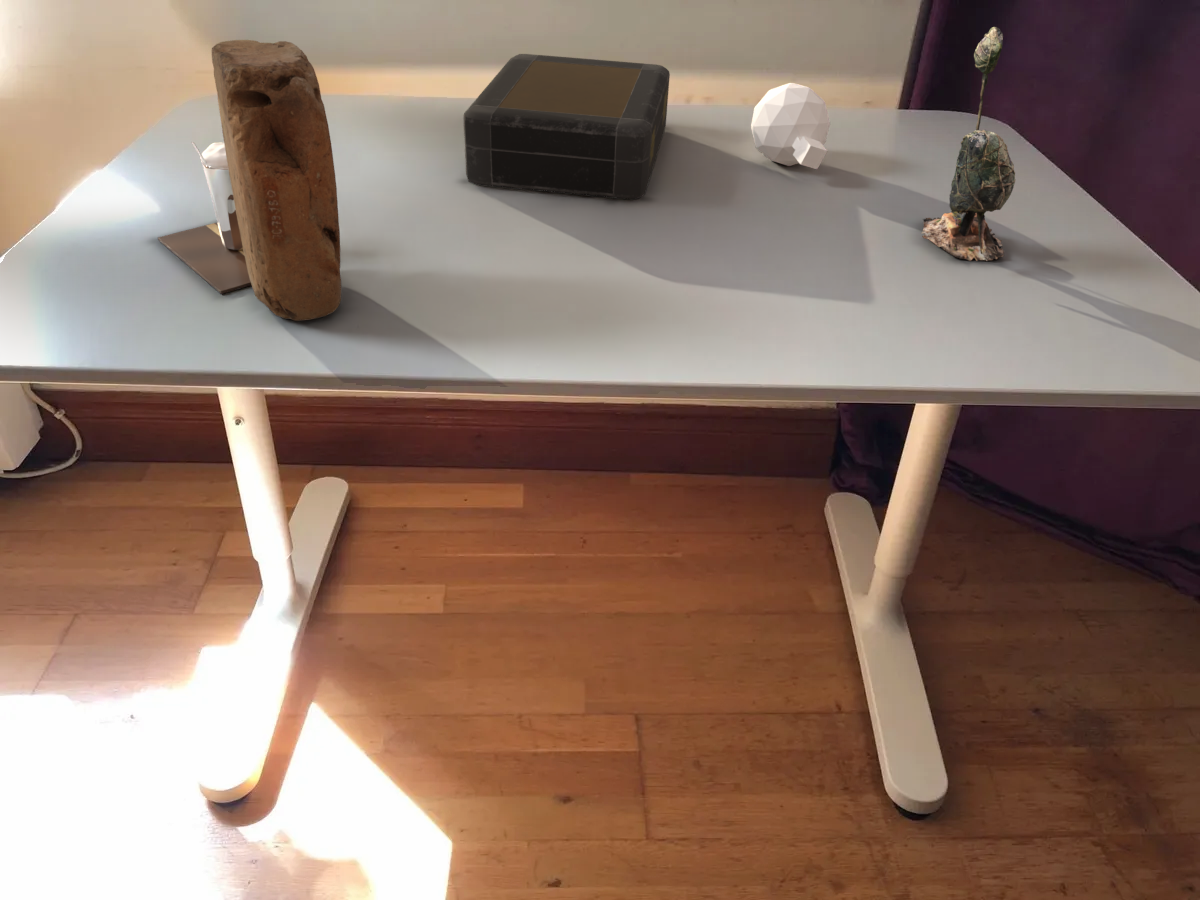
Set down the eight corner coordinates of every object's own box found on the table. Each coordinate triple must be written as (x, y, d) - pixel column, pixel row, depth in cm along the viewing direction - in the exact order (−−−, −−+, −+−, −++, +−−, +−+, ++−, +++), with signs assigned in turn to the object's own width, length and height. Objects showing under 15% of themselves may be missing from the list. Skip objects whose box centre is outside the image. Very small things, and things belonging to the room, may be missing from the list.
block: (245, 272, 84) (200, 33, 71) (331, 260, 87) (302, 28, 74) (264, 334, 76) (218, 80, 64) (358, 319, 79) (331, 72, 67)
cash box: (509, 113, 122) (508, 50, 118) (666, 127, 120) (671, 63, 116) (456, 186, 103) (452, 113, 98) (643, 204, 101) (648, 131, 96)
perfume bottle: (727, 133, 114) (762, 183, 106) (763, 59, 108) (803, 106, 100) (787, 151, 117) (825, 200, 109) (824, 80, 112) (868, 127, 104)
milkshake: (197, 244, 88) (177, 135, 82) (248, 229, 91) (233, 124, 85) (225, 260, 85) (207, 149, 80) (276, 244, 89) (263, 137, 83)
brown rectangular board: (158, 240, 89) (157, 236, 89) (258, 214, 95) (257, 210, 95) (221, 294, 81) (220, 290, 81) (326, 262, 87) (326, 258, 87)
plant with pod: (917, 264, 92) (974, 45, 79) (920, 219, 100) (972, 15, 88) (1005, 278, 90) (1077, 56, 78) (1000, 231, 99) (1065, 25, 87)
